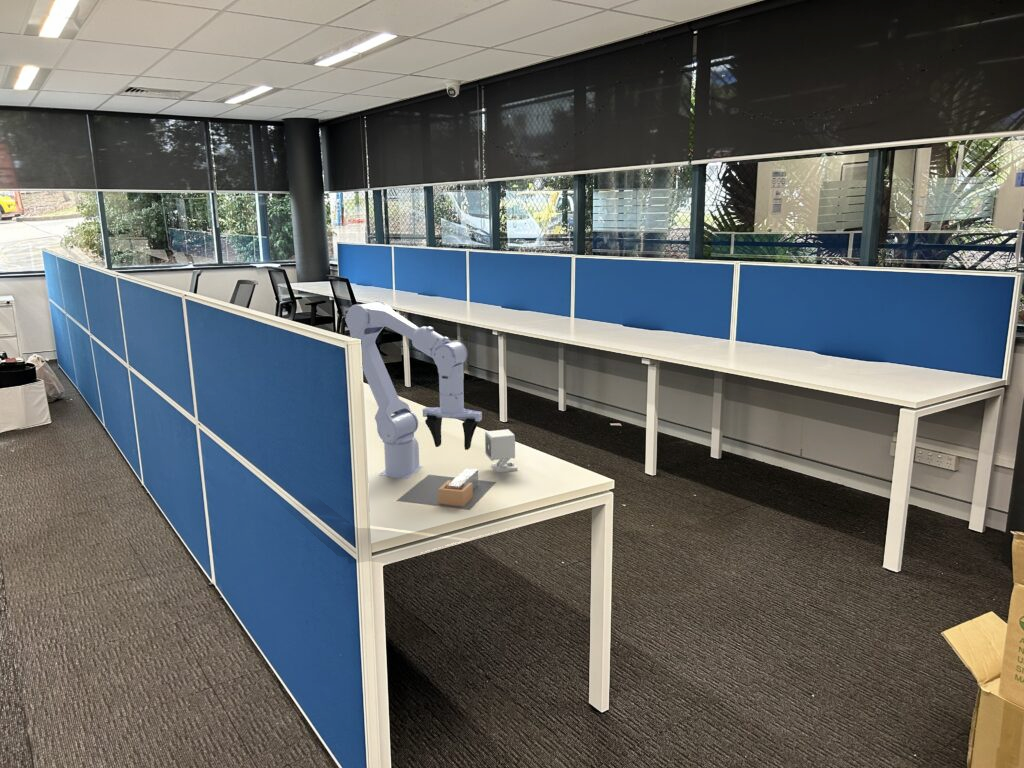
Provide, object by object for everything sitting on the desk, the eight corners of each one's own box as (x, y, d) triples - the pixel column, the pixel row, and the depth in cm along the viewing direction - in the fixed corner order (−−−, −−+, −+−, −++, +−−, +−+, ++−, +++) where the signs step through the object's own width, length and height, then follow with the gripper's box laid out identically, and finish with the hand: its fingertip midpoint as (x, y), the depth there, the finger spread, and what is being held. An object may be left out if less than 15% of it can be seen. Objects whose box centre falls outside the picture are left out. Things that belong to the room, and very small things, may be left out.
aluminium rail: (466, 483, 180) (466, 468, 179) (478, 485, 179) (478, 469, 178) (447, 501, 168) (447, 485, 168) (459, 503, 168) (459, 486, 167)
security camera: (485, 467, 192) (484, 430, 190) (510, 464, 195) (510, 428, 192) (491, 475, 187) (491, 437, 184) (518, 472, 189) (518, 435, 186)
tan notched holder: (448, 494, 173) (448, 480, 172) (472, 497, 171) (472, 483, 170) (438, 503, 167) (438, 489, 167) (463, 506, 166) (463, 491, 165)
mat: (428, 476, 186) (428, 474, 186) (496, 484, 181) (496, 482, 181) (396, 502, 169) (396, 500, 169) (469, 511, 164) (469, 509, 164)
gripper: (416, 394, 174) (418, 449, 177) (474, 398, 170) (475, 455, 173) (428, 387, 181) (430, 440, 184) (484, 391, 176) (485, 446, 179)
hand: (452, 447), depth 179 cm, fingers open, 7 cm apart
